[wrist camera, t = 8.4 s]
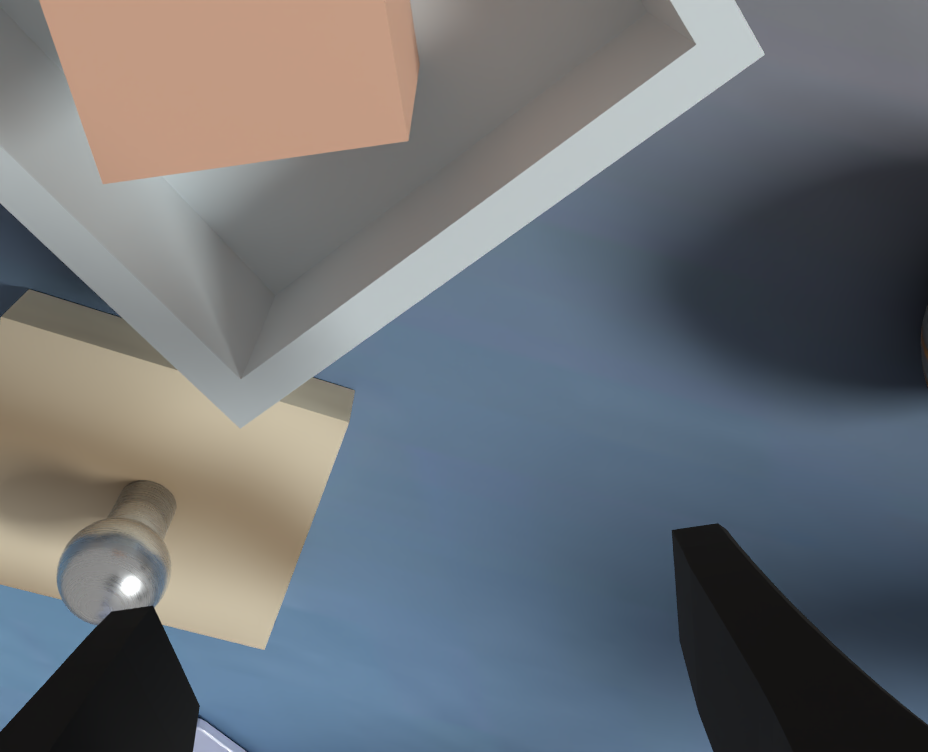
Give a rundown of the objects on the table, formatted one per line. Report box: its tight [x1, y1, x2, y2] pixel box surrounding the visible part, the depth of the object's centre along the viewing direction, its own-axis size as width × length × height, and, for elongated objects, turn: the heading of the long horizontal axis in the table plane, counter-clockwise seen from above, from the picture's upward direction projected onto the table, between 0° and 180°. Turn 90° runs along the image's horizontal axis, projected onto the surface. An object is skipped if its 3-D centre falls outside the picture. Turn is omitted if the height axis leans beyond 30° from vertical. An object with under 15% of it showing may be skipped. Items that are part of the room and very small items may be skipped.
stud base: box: [0, 289, 355, 650], centre depth 21 cm, size 8×8×5 cm
